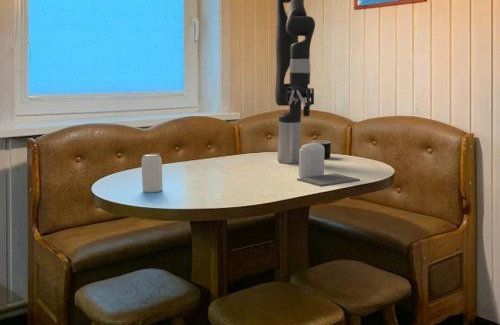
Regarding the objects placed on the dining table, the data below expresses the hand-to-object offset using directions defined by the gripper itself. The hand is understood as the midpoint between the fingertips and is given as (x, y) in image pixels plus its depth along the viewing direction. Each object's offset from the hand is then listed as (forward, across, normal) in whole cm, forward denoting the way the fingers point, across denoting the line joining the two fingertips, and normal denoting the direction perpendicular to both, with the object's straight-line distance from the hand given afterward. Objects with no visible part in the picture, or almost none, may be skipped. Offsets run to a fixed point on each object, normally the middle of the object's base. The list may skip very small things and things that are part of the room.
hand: (299, 115), depth 207 cm
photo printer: (+22, +8, 0) cm, 24 cm away
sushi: (+22, -24, +31) cm, 45 cm away
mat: (+22, +18, 0) cm, 28 cm away
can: (+22, -1, -59) cm, 63 cm away
